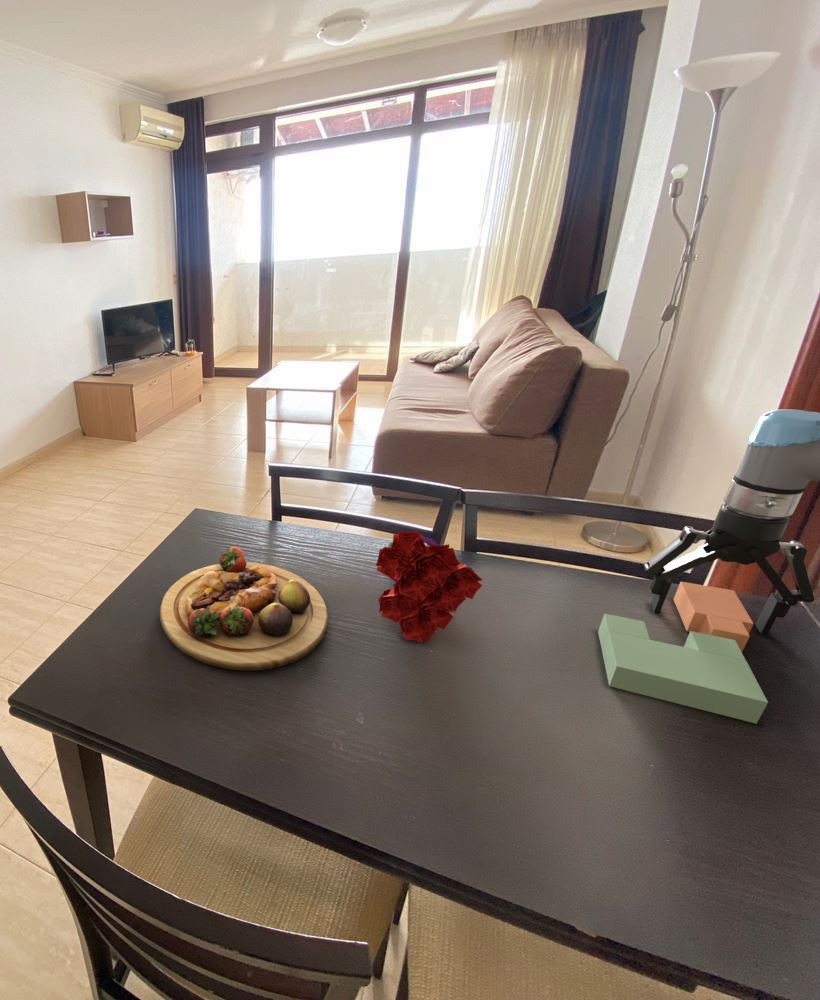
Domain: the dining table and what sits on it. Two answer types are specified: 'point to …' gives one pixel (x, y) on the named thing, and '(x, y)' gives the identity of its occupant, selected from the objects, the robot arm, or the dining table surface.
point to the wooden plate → (243, 614)
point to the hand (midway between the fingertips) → (706, 619)
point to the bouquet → (423, 584)
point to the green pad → (681, 669)
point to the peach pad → (713, 612)
